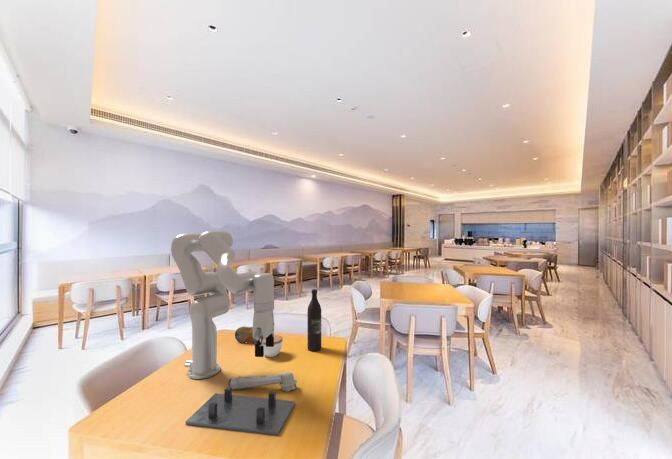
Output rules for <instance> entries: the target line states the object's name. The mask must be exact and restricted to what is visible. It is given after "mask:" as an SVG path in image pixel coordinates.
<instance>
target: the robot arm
mask: <svg viewBox="0 0 672 459" xmlns="http://www.w3.org/2000/svg"><path fill="white" fill-rule="evenodd" d="M233 243H234V241H233V237H232V235H231V234H230V232H228V231H225V230H207V231H204V232H202V233H201V232H200V233H198V232H197V233H196V232H194V233H187V232H186V233H182V234H178V235H176V236H175V237H174V238H173V239H172V241H171V245H170V252H171V253H170V254H171V257H172V259H173V260H174V262H175V264H176V266H177V268H178V270H179V272H180V275H181V276H180V277H181V278H182V282H183V285H184V288H185V290H186V293H187V294H188V295H189V296H191V297H197V296H202V297H199V298H196V299H195V300H194V301H192V302H191V303H190V306H189V316H190V323H191V359H187V360H186V361H185V362H184V363H185V364H184V365H183V366H184V368H189V369H188V371H187V377H189V378H190V379H194V380H202V379H208V378H211V377H213V376H216V375H217V374H218V373H219V372H220V371H221V365H220V364H218V363H217V362H218V360H217V351H218V350H217V345H218V344H217V342H218V341H217V337H218V336H217V335H218V334H217V331H218V330H217V326H216V324H215V322H214V320H213V319H214V318H216V317H219V316H222V315H225V314H227V313H228V312H229V311H230V309H231V299H230V296H229V294H228V292H229V293H231V294H233V295H241V294H242V295H243V294H245V293H250V292H253V319H252V327H253V340H254V344H253V345H254V346H253V347H254V357H256V358H263V357H264V356H265V355H264V346H263V341H264V339H265V338H266V347H273V346H274V335H275V332H274V331H275V318H274V310H275V293H274V292H275V288H274V287H275V286H274V285H275V284H274V283H275V280H274V275H273V274H272V273H269V272H257V271H247V272H242V273H241V272H240V273H237V272H235V270H234V269H232V267H231V266H230V265H231V263H233V261H234V260H235V258H236V252H235V250H234V249H233V248H232V245H233ZM192 253H194V254H195V253H206V254H207V255H208V256H209V258H210V259H211V260H212V261H213V263H215V264H216V271H206V272H204V270H203V267H202V265H201V262H200V261H199V260H198V259H197V257H195V256H194V255H193V254H192ZM207 294H208V295H207ZM203 295H206V296H204V297H203ZM259 336H262V337H259ZM259 340H261V342H260V341H259Z"/></svg>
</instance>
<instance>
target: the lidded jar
mask: <svg viewBox="0 0 672 459" xmlns="http://www.w3.org/2000/svg"><path fill="white" fill-rule="evenodd" d="M260 342H261V340H260ZM263 346H264V356H265V357H266V358H275V357H276V356H278V355H279V353H280V352H281V350H282V348H283V336H282V335H279V334H274V346H273V347H266V338H265V339H264V341H263Z"/></svg>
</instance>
